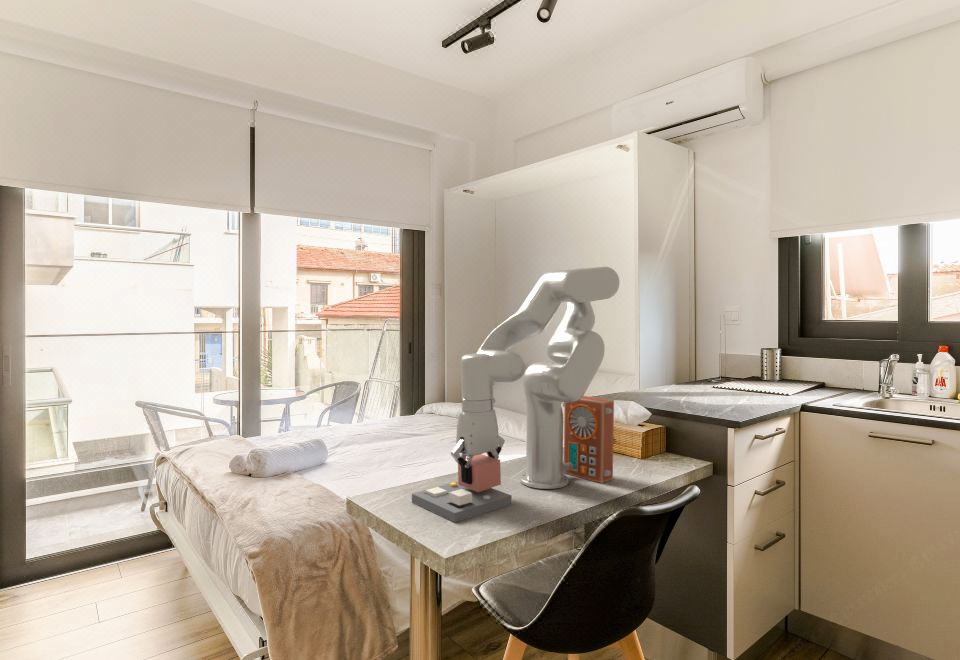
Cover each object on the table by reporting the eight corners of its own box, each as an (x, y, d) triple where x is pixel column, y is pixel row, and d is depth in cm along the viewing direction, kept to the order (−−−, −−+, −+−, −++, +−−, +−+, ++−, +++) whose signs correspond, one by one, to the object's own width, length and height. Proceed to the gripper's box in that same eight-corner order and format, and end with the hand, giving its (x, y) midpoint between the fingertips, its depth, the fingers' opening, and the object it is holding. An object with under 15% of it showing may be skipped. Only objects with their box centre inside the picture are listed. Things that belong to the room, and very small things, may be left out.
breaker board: (467, 486, 139) (467, 476, 139) (511, 503, 127) (511, 492, 127) (411, 502, 128) (411, 491, 128) (454, 522, 116) (454, 510, 116)
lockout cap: (480, 477, 136) (480, 453, 136) (500, 484, 131) (500, 459, 130) (458, 484, 131) (457, 460, 131) (478, 492, 126) (477, 466, 125)
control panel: (604, 485, 141) (558, 472, 152) (619, 479, 146) (573, 467, 157) (605, 403, 140) (559, 396, 151) (620, 400, 145) (573, 393, 156)
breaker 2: (461, 497, 124) (461, 488, 124) (472, 501, 121) (472, 492, 121) (449, 501, 121) (449, 492, 121) (459, 505, 119) (459, 496, 119)
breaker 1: (437, 495, 131) (437, 486, 131) (447, 499, 128) (447, 490, 128) (425, 498, 128) (425, 490, 128) (434, 502, 126) (434, 494, 125)
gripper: (493, 398, 138) (495, 467, 139) (438, 409, 127) (441, 483, 128) (514, 402, 133) (516, 474, 134) (459, 413, 121) (461, 492, 122)
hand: (479, 478), depth 131 cm, fingers closed on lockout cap, 7 cm apart
